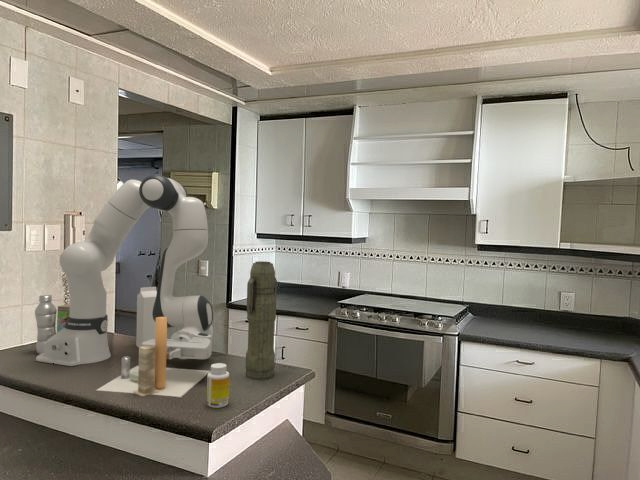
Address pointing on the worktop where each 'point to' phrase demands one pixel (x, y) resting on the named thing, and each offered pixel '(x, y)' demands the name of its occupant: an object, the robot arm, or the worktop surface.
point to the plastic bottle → (45, 321)
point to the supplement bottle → (218, 386)
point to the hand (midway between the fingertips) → (165, 356)
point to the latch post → (146, 371)
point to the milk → (145, 315)
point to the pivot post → (125, 367)
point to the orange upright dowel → (158, 354)
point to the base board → (175, 386)
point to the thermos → (261, 321)
